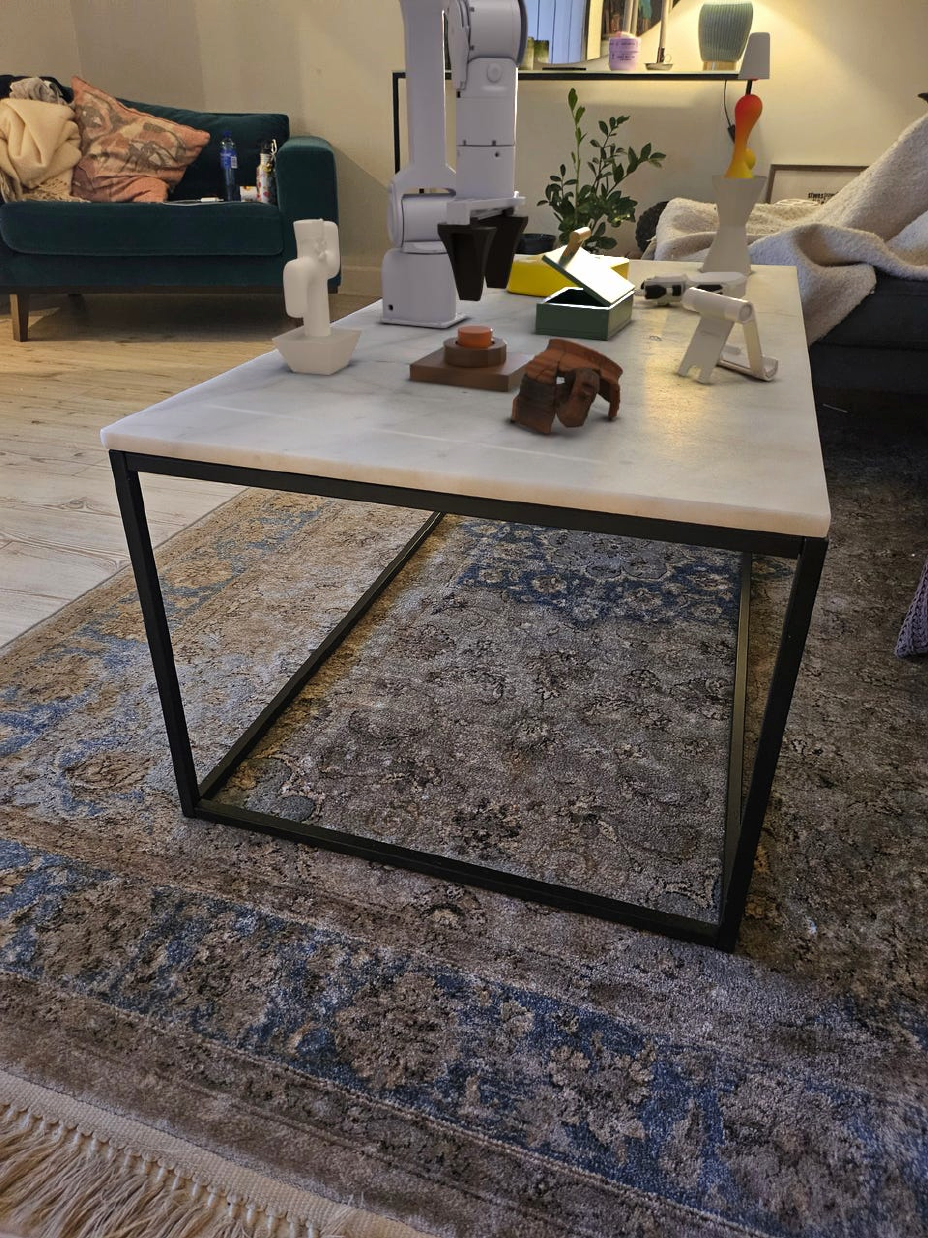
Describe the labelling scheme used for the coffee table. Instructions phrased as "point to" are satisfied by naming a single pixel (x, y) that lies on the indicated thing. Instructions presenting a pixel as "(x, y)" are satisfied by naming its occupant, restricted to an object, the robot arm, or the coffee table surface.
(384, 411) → the coffee table surface
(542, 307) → the enamel box
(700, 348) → the tablet stand
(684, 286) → the robot toy
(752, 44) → the lava lamp
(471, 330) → the button
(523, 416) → the brown arched sculpture
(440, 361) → the control block
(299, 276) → the figurine
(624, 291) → the lid
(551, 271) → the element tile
